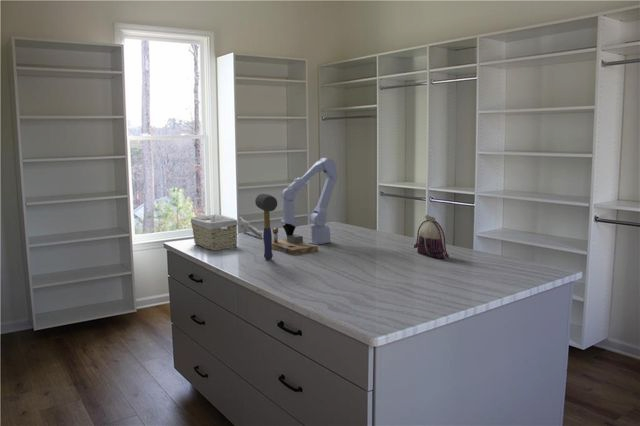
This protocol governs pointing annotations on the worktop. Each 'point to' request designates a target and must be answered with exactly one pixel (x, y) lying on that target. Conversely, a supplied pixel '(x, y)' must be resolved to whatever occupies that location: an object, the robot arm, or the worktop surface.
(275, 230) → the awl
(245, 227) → the gun
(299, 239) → the block
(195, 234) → the storage basket
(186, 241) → the worktop surface
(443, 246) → the pouch
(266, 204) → the rubber mallet
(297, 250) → the board
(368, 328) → the worktop surface
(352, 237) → the worktop surface
